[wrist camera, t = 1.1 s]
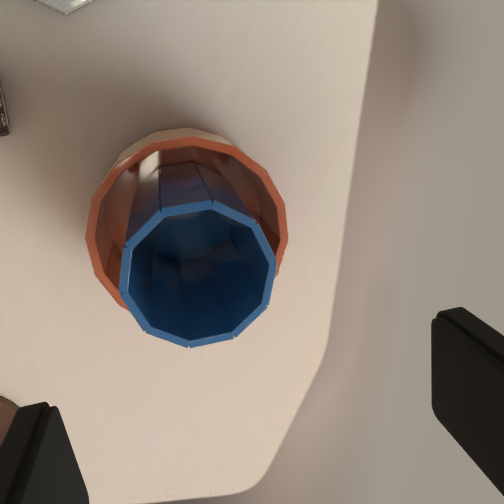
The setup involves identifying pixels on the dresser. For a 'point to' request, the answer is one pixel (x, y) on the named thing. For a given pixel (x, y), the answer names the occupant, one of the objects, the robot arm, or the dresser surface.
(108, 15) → the dresser surface
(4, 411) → the coaster
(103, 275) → the orange bowl
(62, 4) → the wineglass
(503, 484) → the robot arm
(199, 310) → the blue cup
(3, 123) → the box
